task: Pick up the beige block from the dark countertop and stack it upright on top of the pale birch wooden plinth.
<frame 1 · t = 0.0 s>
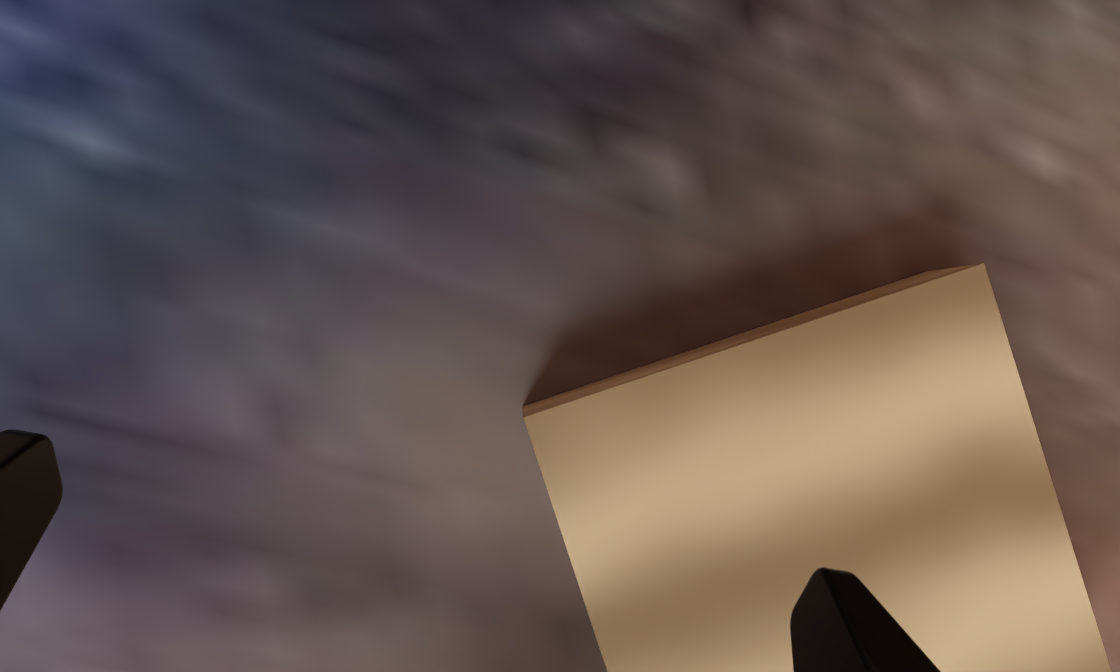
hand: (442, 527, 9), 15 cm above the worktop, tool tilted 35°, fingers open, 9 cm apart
birch plinth: (793, 541, 24), on the worktop
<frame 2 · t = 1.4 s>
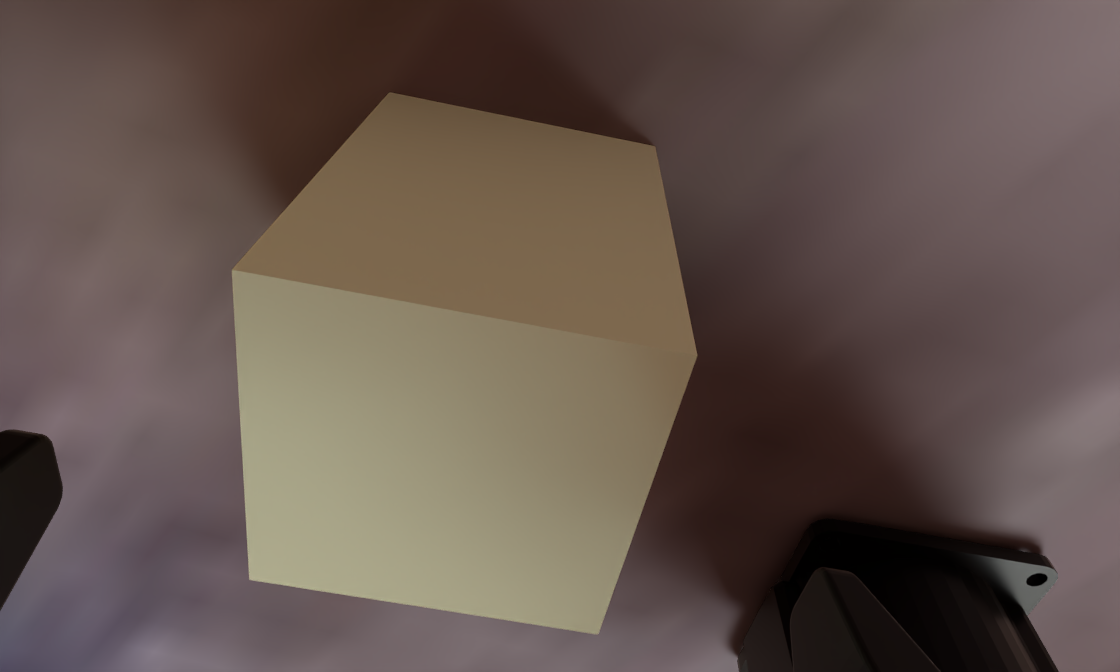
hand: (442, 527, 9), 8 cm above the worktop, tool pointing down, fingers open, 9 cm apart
beige block: (504, 239, 15), on the worktop
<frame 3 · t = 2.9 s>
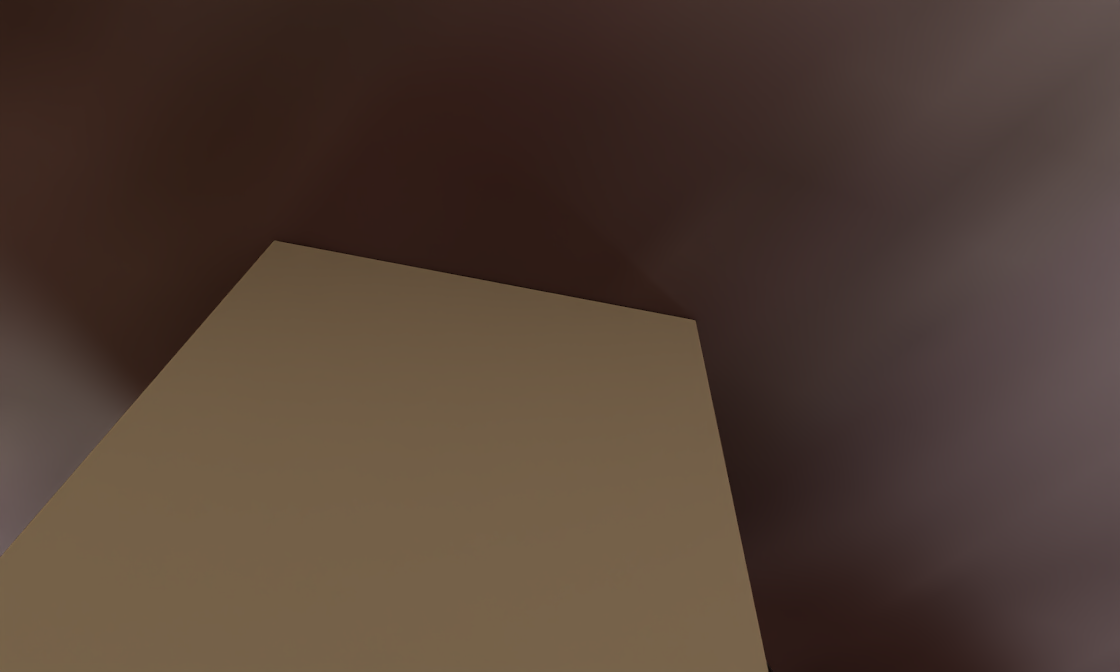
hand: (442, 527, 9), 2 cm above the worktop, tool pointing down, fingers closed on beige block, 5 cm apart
beige block: (463, 440, 10), on the worktop, touching gripper
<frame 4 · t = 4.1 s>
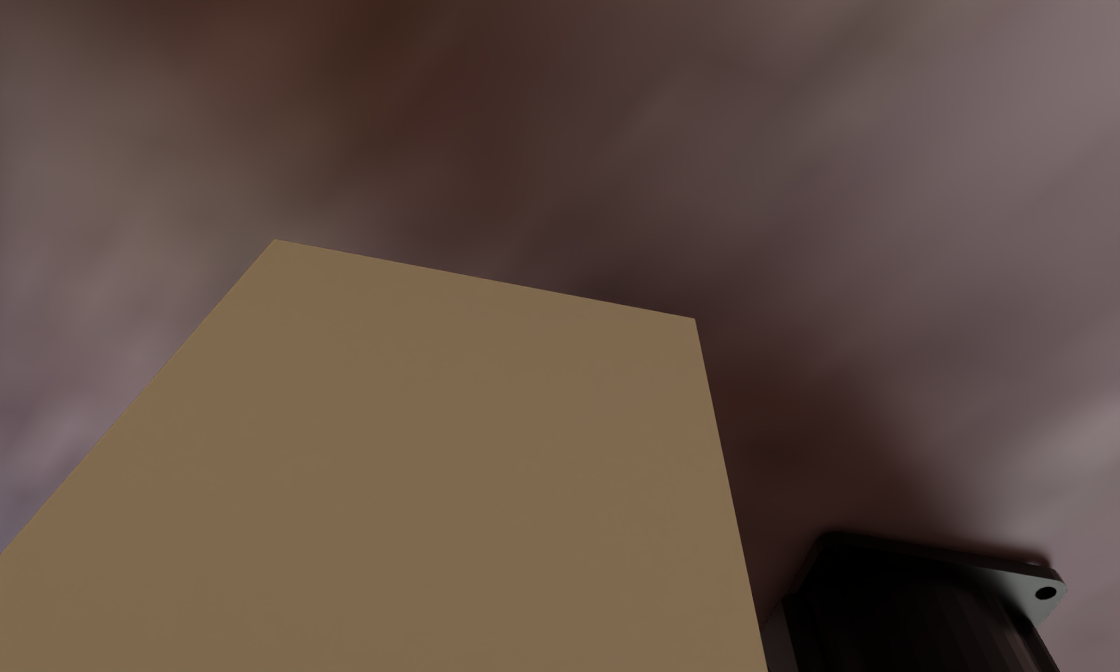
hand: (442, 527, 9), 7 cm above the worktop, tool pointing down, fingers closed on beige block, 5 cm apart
beige block: (463, 439, 10), point 6 cm above the worktop, touching gripper
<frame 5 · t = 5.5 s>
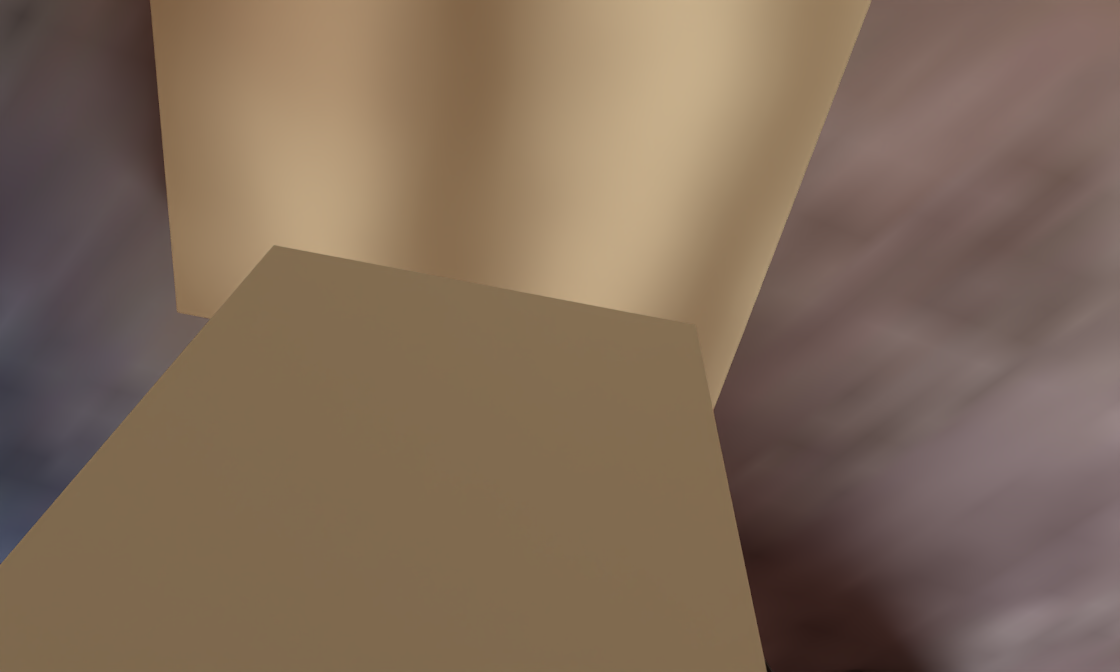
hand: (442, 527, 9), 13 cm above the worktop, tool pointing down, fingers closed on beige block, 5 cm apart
birch plinth: (505, 65, 18), on the worktop
beige block: (463, 444, 10), point 11 cm above the worktop, touching gripper
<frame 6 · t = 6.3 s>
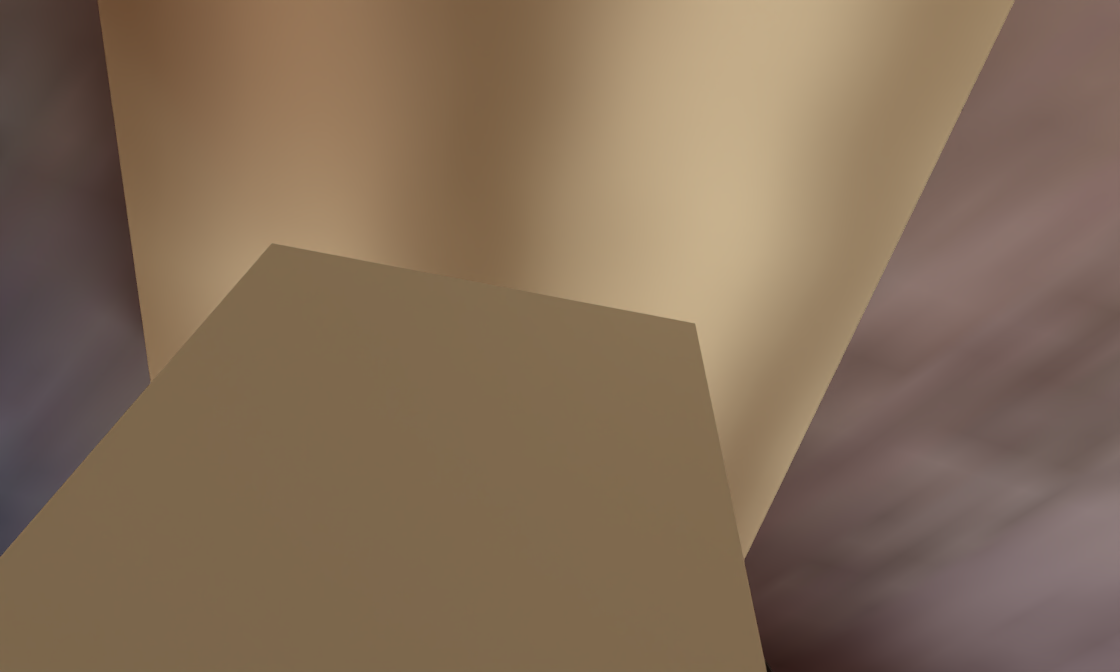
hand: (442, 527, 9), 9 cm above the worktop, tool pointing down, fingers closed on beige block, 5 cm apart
birch plinth: (515, 206, 17), on the worktop
beige block: (462, 443, 10), point 8 cm above the worktop, touching gripper
when the fingers open (6 cm above the worktop, at t = 7.6 s): beige block drops 2 cm, resting on birch plinth.
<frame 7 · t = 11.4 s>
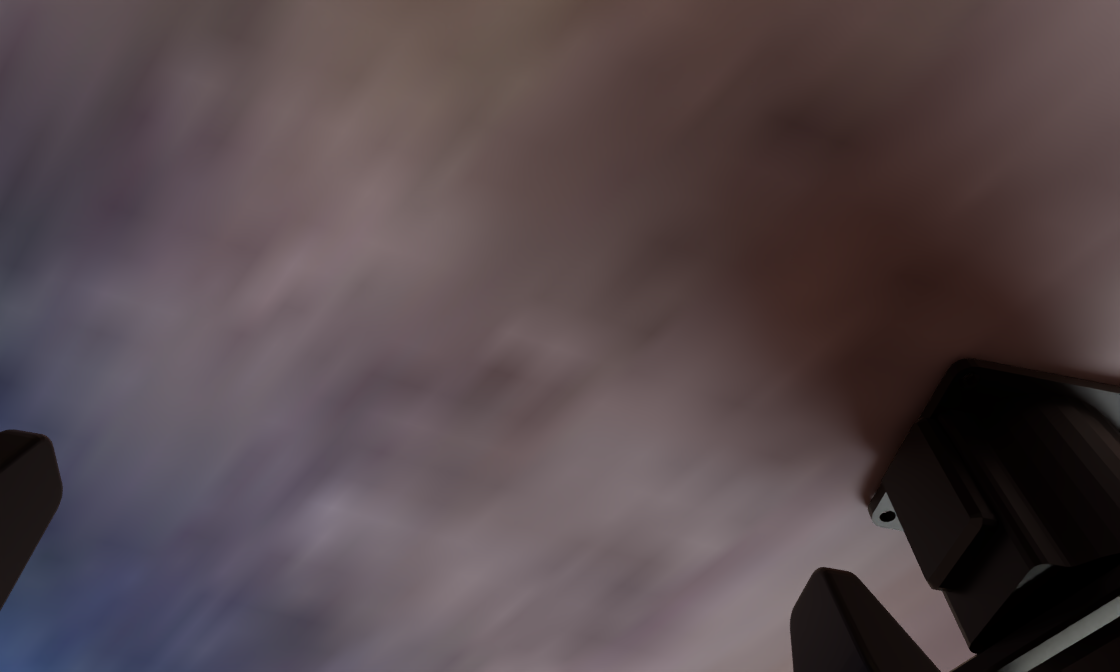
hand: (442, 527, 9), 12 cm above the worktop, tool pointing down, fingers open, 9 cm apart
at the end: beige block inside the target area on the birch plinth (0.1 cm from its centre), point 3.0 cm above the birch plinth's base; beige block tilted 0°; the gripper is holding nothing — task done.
